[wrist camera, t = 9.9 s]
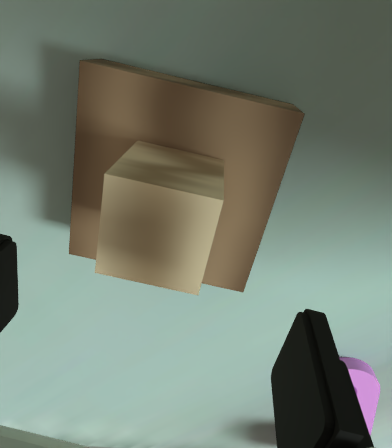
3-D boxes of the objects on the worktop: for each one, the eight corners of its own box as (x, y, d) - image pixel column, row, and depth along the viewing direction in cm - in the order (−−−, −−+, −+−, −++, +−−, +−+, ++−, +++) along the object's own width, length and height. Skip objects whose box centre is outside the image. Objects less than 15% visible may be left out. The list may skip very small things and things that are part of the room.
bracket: (359, 449, 36) (387, 533, 29) (303, 447, 36) (319, 530, 30) (378, 356, 30) (418, 435, 24) (311, 355, 31) (333, 433, 24)
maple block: (224, 160, 20) (223, 200, 14) (205, 236, 22) (198, 295, 17) (137, 140, 20) (104, 173, 14) (127, 218, 22) (94, 272, 17)
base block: (291, 103, 22) (304, 113, 18) (240, 260, 27) (243, 292, 24) (103, 58, 22) (79, 60, 18) (89, 226, 27) (68, 253, 23)
